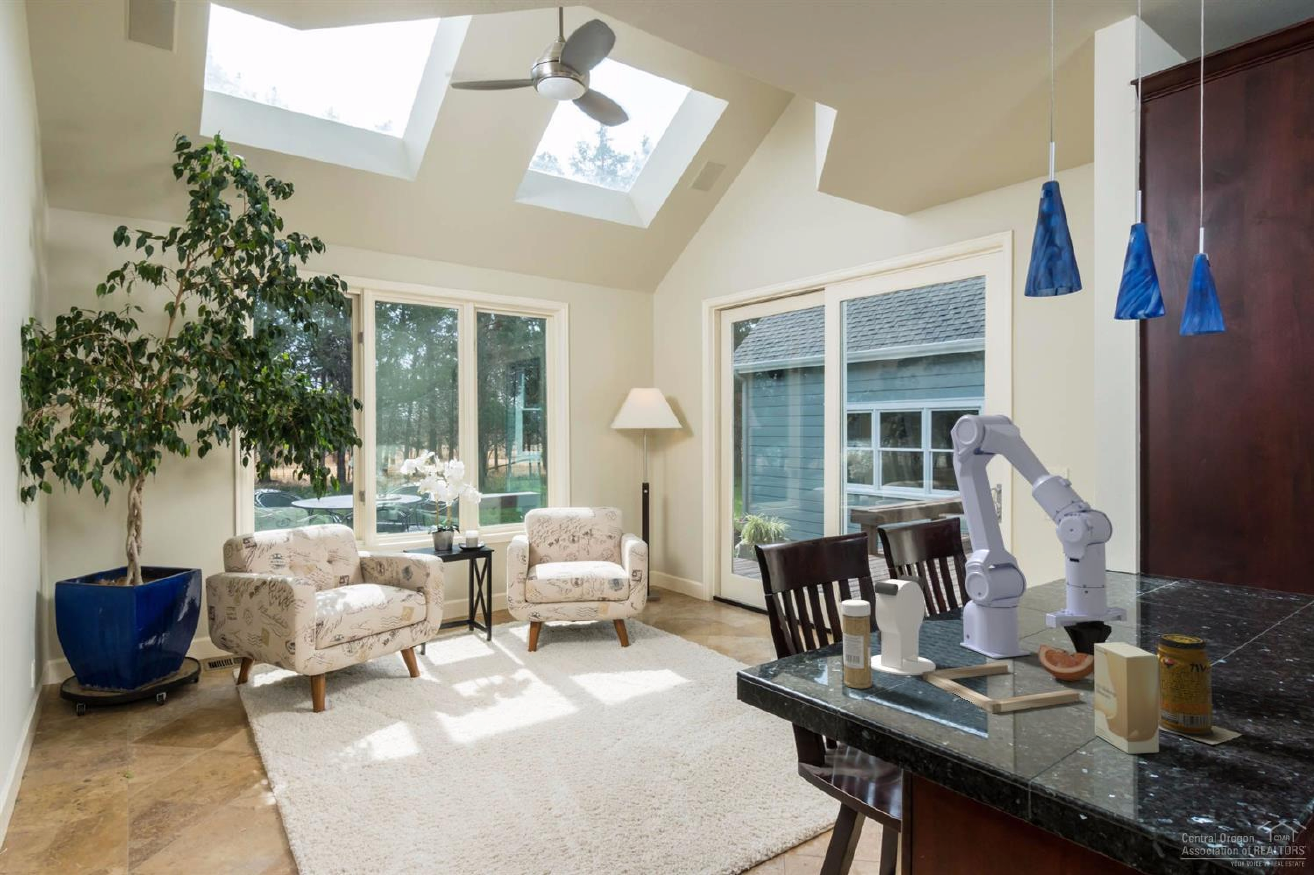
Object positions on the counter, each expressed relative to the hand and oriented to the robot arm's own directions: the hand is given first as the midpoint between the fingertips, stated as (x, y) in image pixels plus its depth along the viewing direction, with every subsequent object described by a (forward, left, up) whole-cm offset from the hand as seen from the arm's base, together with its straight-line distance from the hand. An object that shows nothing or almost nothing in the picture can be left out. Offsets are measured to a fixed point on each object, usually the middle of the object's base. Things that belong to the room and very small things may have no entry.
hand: (1088, 667), depth 117 cm
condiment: (+21, -5, -2) cm, 22 cm away
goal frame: (0, -17, -2) cm, 17 cm away
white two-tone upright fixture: (-16, -24, -2) cm, 29 cm away
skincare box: (+22, -17, -2) cm, 28 cm away
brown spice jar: (-9, -37, -2) cm, 38 cm away
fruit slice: (0, -4, -2) cm, 5 cm away
